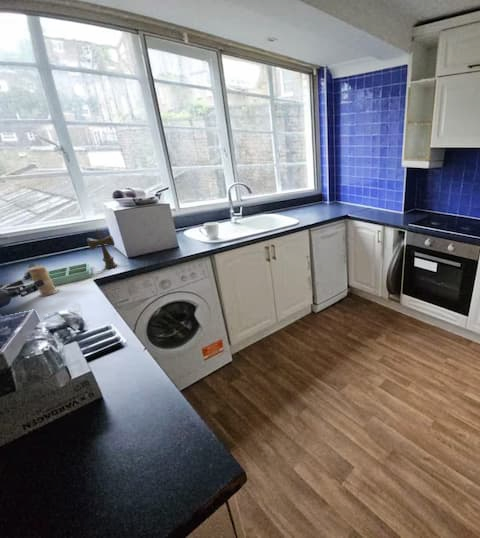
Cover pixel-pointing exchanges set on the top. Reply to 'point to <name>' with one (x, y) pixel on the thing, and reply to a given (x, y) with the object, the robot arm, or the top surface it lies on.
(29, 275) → the eagle figurine
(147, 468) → the top surface
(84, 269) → the grid
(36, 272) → the tan cylinder
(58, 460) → the top surface
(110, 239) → the kendama
